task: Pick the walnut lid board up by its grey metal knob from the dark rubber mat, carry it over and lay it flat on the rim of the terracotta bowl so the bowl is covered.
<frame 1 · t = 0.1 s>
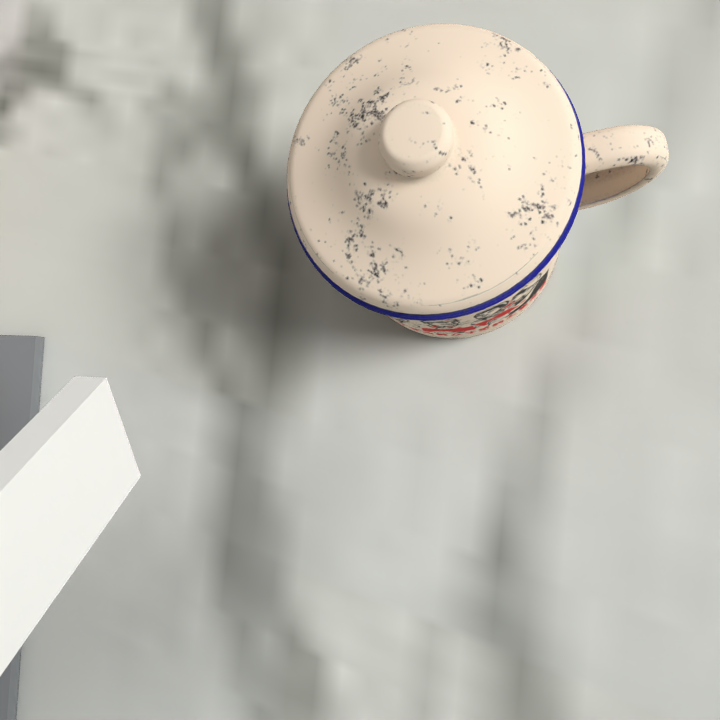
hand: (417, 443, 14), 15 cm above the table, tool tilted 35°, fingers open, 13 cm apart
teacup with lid: (489, 232, 29), on the table
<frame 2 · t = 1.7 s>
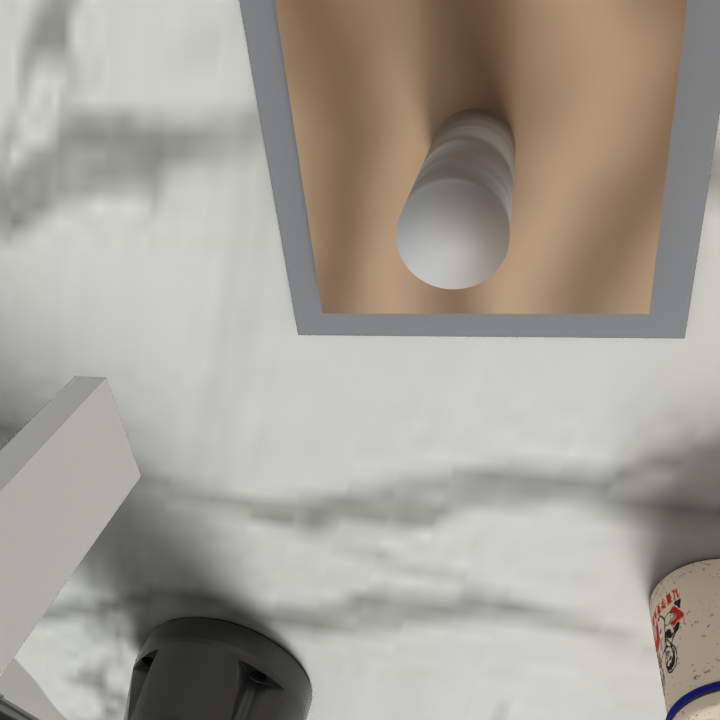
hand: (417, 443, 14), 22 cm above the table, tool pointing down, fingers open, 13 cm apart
lid board: (475, 144, 31), point 1 cm above the table, touching rubber mat
rubber mat: (476, 140, 32), on the table
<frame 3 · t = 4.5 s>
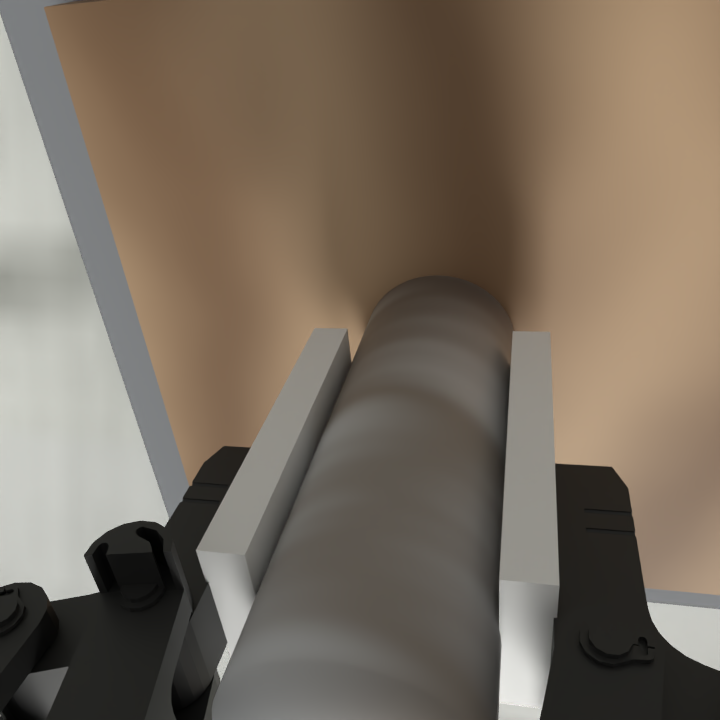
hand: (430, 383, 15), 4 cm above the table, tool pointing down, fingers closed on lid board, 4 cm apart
lid board: (444, 319, 18), point 1 cm above the table, touching gripper, rubber mat
rubber mat: (447, 308, 18), on the table
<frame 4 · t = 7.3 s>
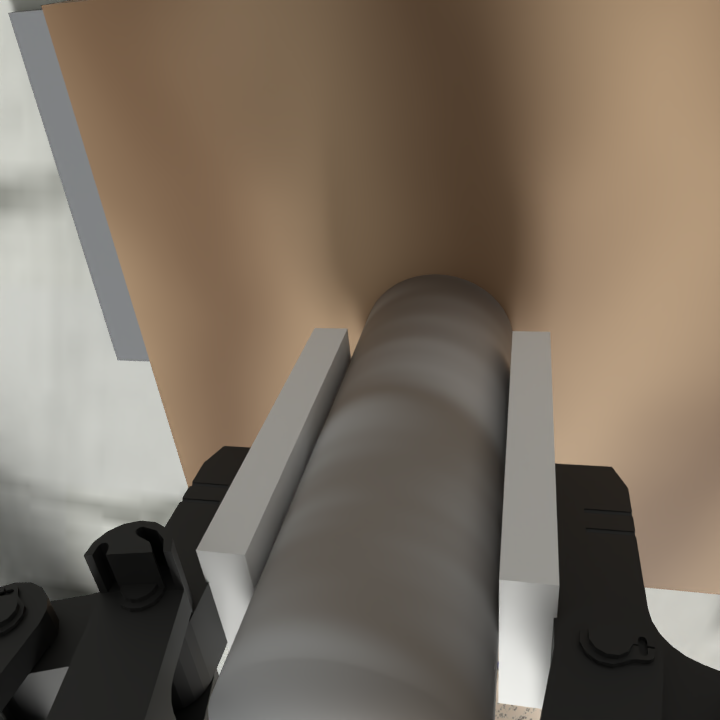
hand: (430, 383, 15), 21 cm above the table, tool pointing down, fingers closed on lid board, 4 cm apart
lid board: (443, 318, 18), point 18 cm above the table, touching gripper
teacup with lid: (509, 610, 50), on the table
rubber mat: (239, 202, 37), on the table
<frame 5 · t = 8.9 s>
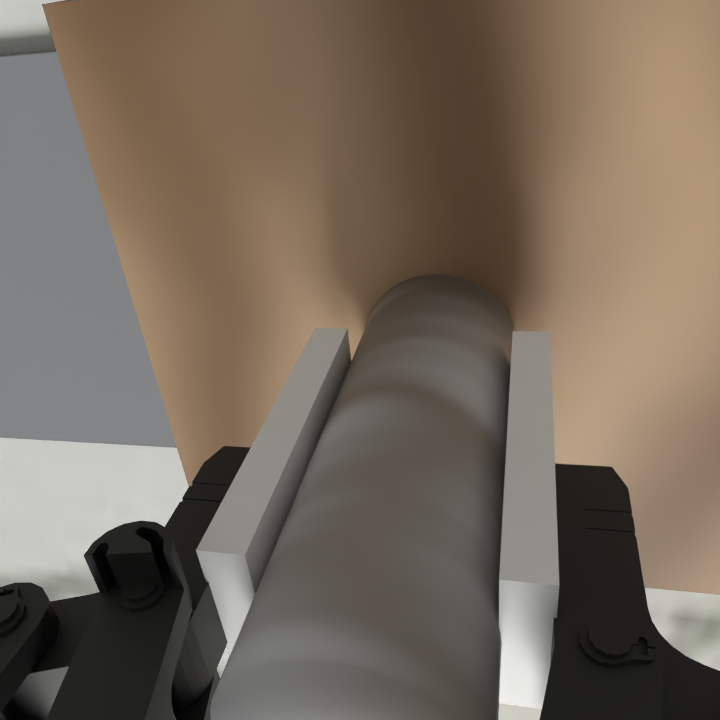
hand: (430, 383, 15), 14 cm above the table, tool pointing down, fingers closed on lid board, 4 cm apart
lid board: (444, 317, 18), point 11 cm above the table, touching gripper
rubber mat: (80, 276, 34), on the table
when the fingers open (12 cm above the table, at t = 10.0 s): lid board drops 2 cm, resting on bowl.
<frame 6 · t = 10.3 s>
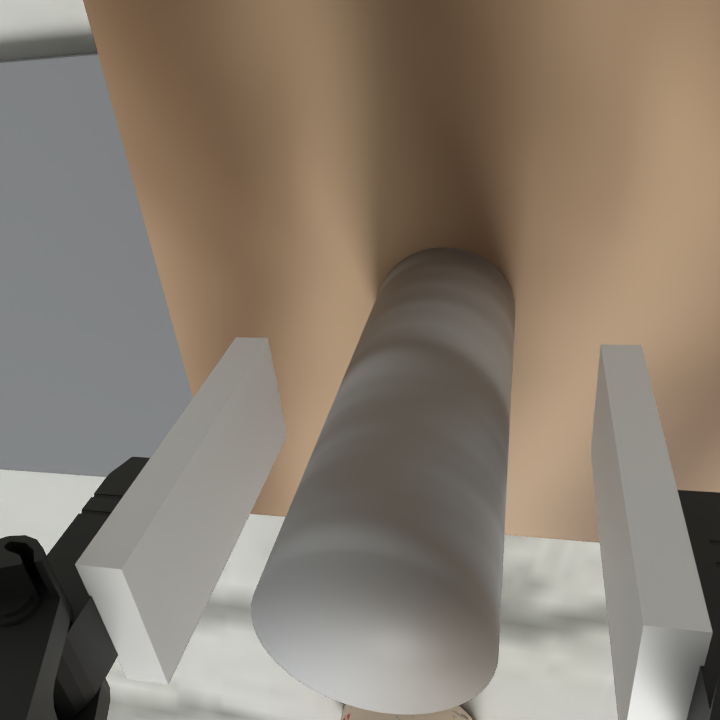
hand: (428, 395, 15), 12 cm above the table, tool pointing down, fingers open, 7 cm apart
lid board: (449, 290, 19), point 7 cm above the table, touching bowl
rubber mat: (49, 300, 31), on the table
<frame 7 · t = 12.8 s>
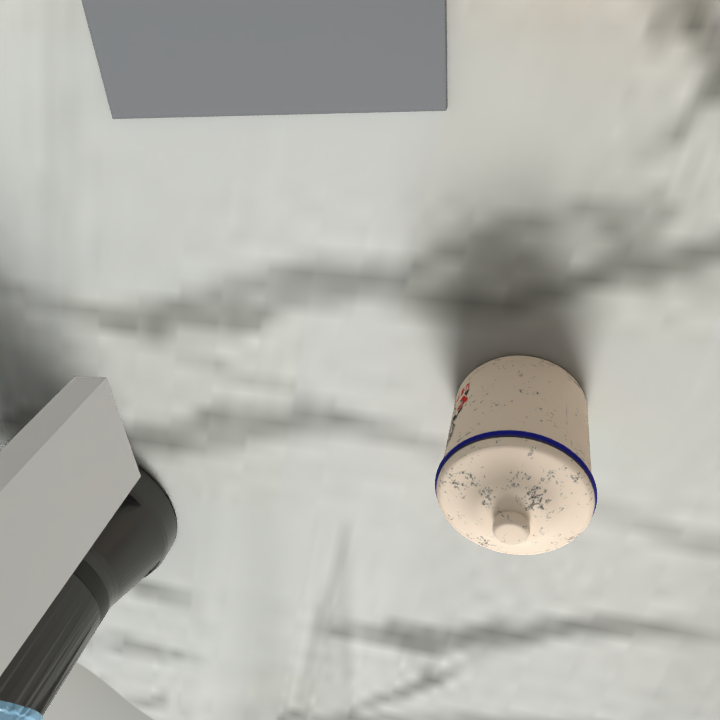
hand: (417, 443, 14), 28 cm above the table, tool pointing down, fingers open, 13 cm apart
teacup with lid: (523, 421, 47), on the table
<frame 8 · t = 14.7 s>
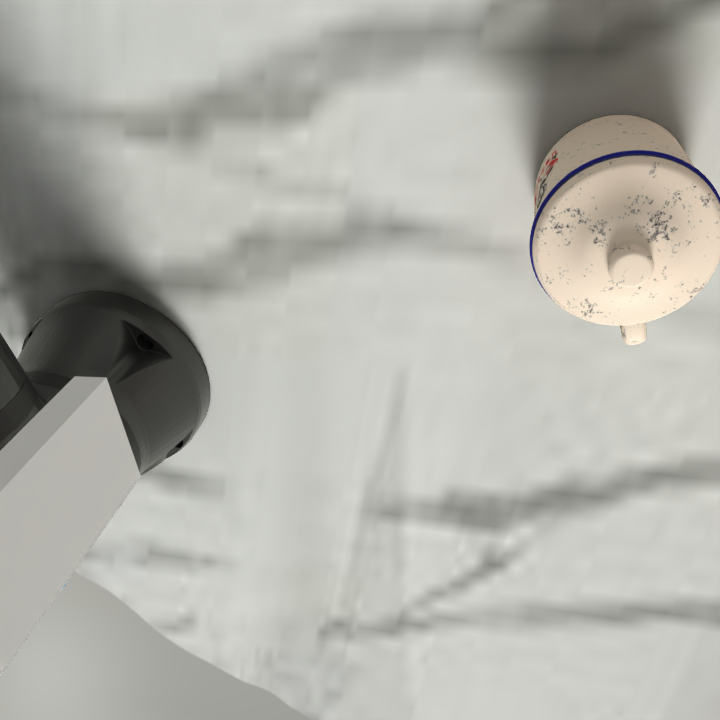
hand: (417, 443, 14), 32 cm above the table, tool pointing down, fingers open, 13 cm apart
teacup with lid: (612, 209, 42), on the table
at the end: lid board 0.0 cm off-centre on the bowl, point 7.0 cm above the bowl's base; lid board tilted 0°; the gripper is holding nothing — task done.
